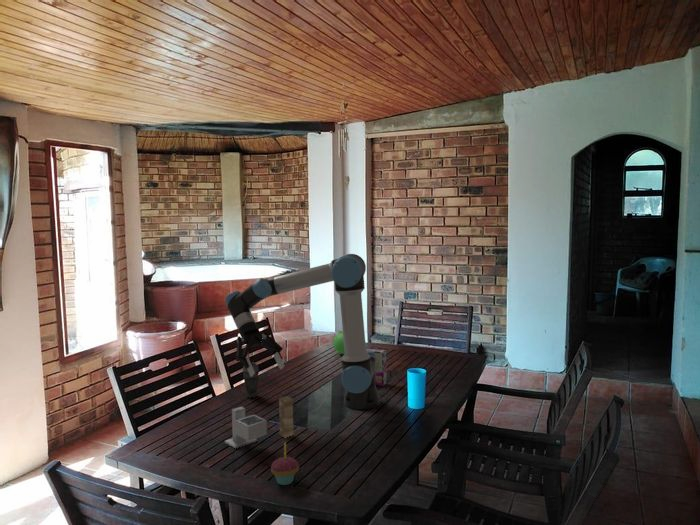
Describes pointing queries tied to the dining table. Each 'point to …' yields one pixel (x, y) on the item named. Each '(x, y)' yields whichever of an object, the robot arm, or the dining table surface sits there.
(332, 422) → the dining table surface
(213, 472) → the dining table surface
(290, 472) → the cupcake
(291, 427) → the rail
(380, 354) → the candy bar box
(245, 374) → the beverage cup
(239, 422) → the bracket
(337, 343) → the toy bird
